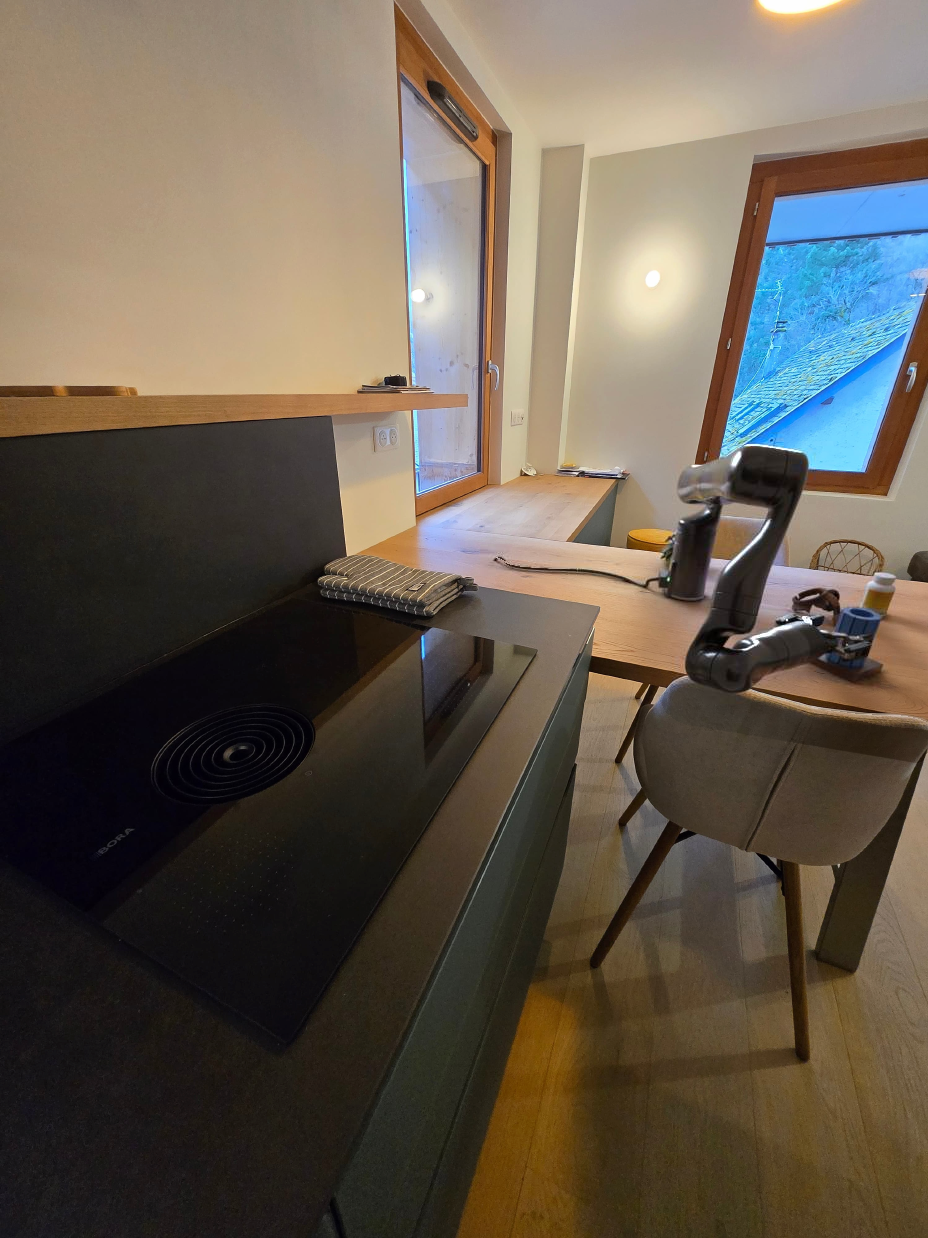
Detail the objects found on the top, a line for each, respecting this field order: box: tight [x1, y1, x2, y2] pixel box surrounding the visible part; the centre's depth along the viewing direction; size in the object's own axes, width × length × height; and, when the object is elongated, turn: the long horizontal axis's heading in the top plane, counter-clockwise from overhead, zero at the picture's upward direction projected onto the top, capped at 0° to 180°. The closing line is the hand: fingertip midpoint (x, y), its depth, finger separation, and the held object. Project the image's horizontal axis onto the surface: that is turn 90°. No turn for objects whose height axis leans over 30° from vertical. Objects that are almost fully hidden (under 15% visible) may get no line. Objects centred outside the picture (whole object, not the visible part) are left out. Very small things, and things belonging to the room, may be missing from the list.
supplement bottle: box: [858, 572, 897, 618], centre depth 117 cm, size 5×5×10 cm
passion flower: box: [659, 533, 676, 570], centre depth 151 cm, size 11×11×12 cm
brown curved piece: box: [791, 587, 842, 627], centre depth 117 cm, size 12×10×8 cm
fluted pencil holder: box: [826, 606, 883, 667], centre depth 95 cm, size 6×6×10 cm
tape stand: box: [809, 654, 884, 682], centre depth 95 cm, size 9×9×10 cm
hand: (844, 628), depth 92 cm, fingers open, 8 cm apart
